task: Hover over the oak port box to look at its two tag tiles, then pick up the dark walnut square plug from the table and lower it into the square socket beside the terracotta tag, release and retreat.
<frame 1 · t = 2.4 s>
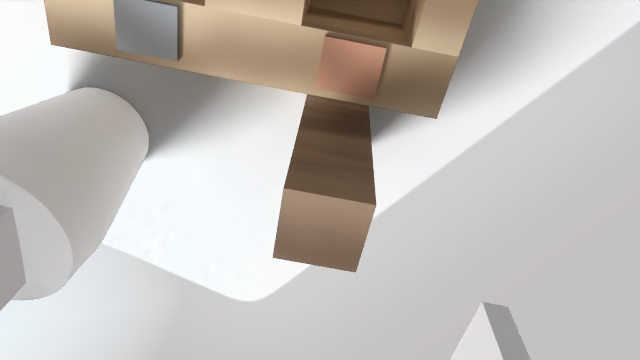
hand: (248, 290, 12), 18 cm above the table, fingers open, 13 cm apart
cup: (105, 129, 31), on the table
plug: (332, 122, 29), on the table
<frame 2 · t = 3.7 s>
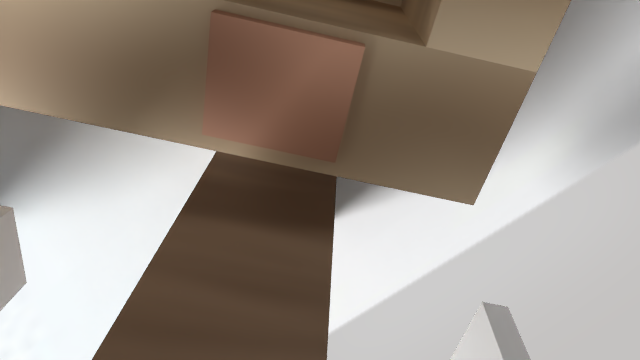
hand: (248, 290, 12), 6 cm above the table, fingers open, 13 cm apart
plug: (278, 176, 17), on the table
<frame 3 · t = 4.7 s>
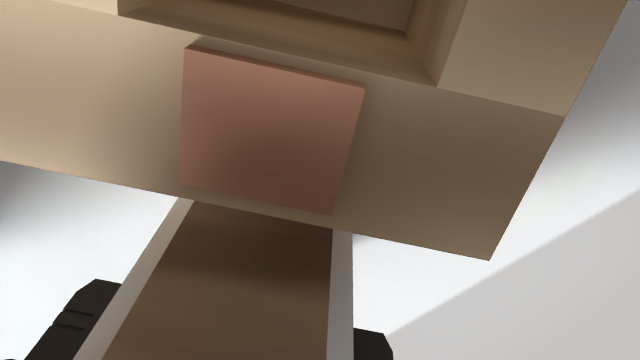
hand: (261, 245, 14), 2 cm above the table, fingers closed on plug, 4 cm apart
plug: (271, 209, 16), on the table, touching gripper
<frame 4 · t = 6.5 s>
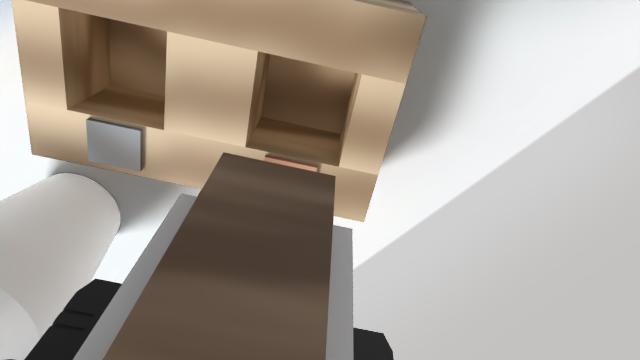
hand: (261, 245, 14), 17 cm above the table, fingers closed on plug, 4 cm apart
port box: (234, 66, 28), on the table
cup: (81, 207, 34), on the table
plug: (271, 210, 16), point 14 cm above the table, touching gripper
when the fingers open (6 cm above the table, at t = 8.4 s): plug drops 3 cm, resting on port box.
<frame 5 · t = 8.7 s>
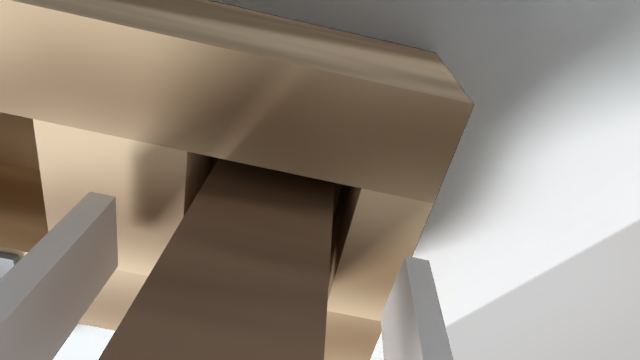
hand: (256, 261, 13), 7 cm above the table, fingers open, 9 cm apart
port box: (177, 135, 19), on the table
plug: (282, 169, 19), point 1 cm above the table, touching port box
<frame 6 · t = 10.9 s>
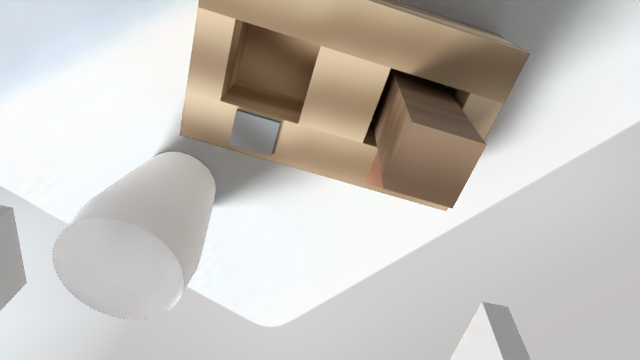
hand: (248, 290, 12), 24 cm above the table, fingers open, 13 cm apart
port box: (343, 72, 33), on the table
cup: (180, 182, 39), on the table
plug: (405, 95, 33), point 1 cm above the table, touching port box
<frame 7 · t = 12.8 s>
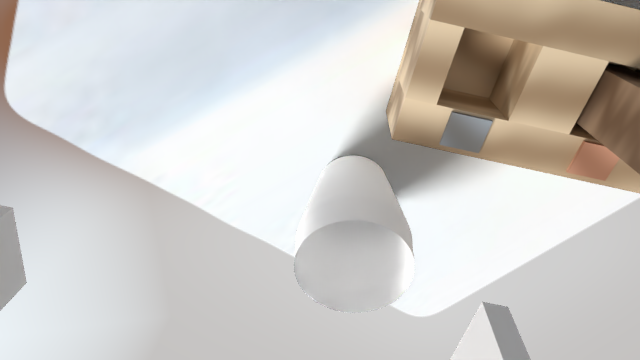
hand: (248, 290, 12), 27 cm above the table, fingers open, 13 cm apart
port box: (525, 69, 35), on the table
cup: (352, 184, 41), on the table
plug: (589, 86, 34), point 1 cm above the table, touching port box
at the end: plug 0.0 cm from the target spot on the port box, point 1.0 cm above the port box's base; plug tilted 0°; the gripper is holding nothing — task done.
